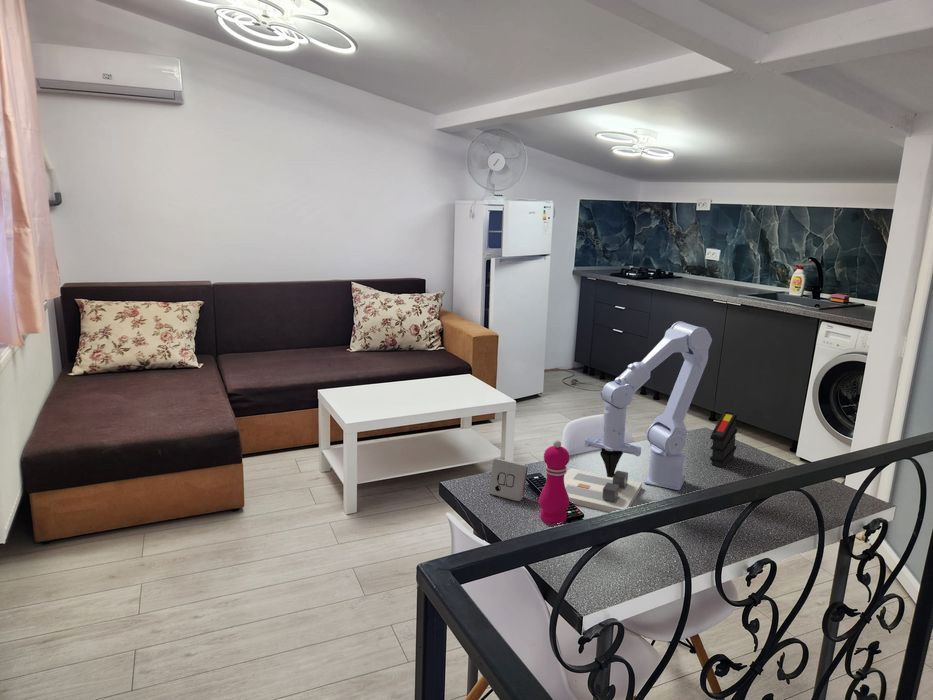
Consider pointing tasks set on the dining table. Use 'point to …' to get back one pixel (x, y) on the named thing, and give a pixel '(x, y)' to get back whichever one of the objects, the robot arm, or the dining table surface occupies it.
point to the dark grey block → (620, 478)
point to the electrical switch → (508, 479)
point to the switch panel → (597, 490)
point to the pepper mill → (554, 485)
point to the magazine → (724, 439)
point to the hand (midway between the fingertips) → (610, 476)
